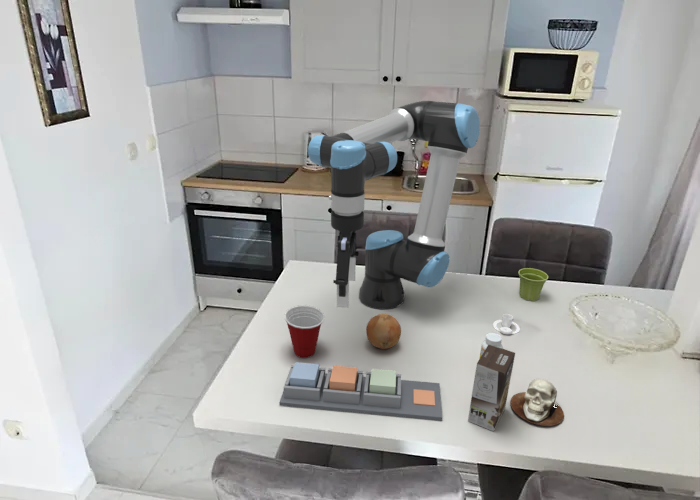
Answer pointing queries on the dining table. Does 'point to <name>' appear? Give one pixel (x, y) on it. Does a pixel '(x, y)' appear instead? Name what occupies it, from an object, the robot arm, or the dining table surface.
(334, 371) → the button terracotta
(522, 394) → the skull
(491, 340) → the supplement bottle
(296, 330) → the plastic cup
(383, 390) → the button sage
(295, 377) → the button slate
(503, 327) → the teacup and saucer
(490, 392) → the coffee box
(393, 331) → the onion
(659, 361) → the dining table surface
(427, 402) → the console
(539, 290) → the plant pot
